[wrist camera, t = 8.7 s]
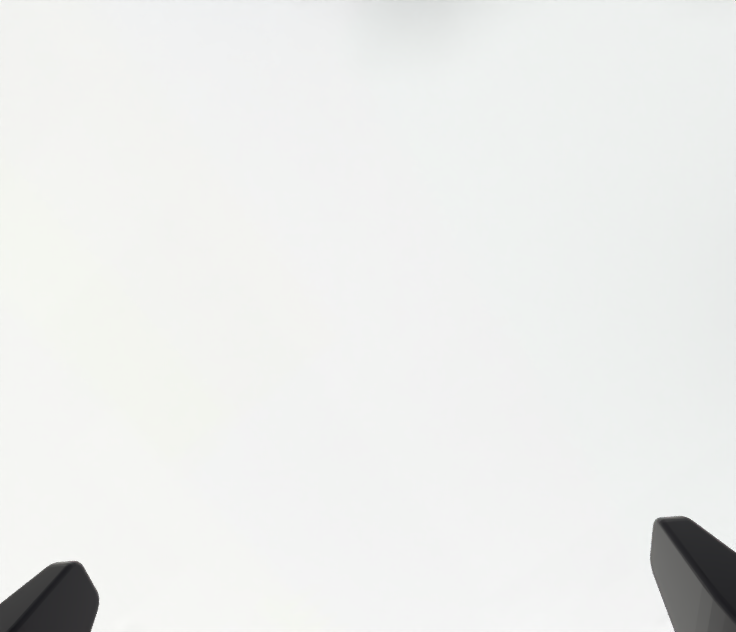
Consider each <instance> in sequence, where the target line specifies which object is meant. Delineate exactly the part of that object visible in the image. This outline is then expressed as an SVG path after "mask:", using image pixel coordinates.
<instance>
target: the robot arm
mask: <svg viewBox="0 0 736 632" xmlns="http://www.w3.org/2000/svg"><path fill="white" fill-rule="evenodd" d="M650 562H651V568H652V571H653V575H654V578H655V580H656V583H657V585H658V588H659V591H660V593H661V596H662V599H663V601H664V604H665V607H666V609H667V612H668V615H669V617H670V620H671V623H672V625H673V628H674V631H675V632H736V552H734V551H733V550H732V549H730V548H729V547H728V546H726V545H725V544H724V543H722V542H721V541H720V540H718V539H717V538H715V537H714V536H713V535H711V534H710V533H709V532H707V531H706V530H705V529H703V528H702V527H701V526H699V525H698V524H697V523H695V522H694V521H692V520H691V519H689V518H687V517H684V516H674V517H660V518H657V519H656V520H655V521H654V524H653V532H652V542H651V553H650ZM98 606H99V595H98V592H97V590H96V588H95V586H94V585H93V583H92V581H91V579H90V577H89V576H88V574H87V572H86V570H85V568H84V567H83V565H82V564H81V563H79V562H78V561H67V562H56V563H53V564H51V565H49V566H48V567H46V568H45V569H44V570H43V571H41V572H40V573H39V574H37V575H36V576H35V577H34V578H32V579H31V580H30V581H29V582H27V583H26V584H25V585H23V586H22V587H21V588H20V589H18V590H17V591H16V592H15V593H13V594H12V595H11V596H9V597H8V598H7V599H6V600H4V601H3V602H2V603H1V604H0V632H91V629H92V626H93V623H94V620H95V617H96V614H97V611H98Z"/></svg>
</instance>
